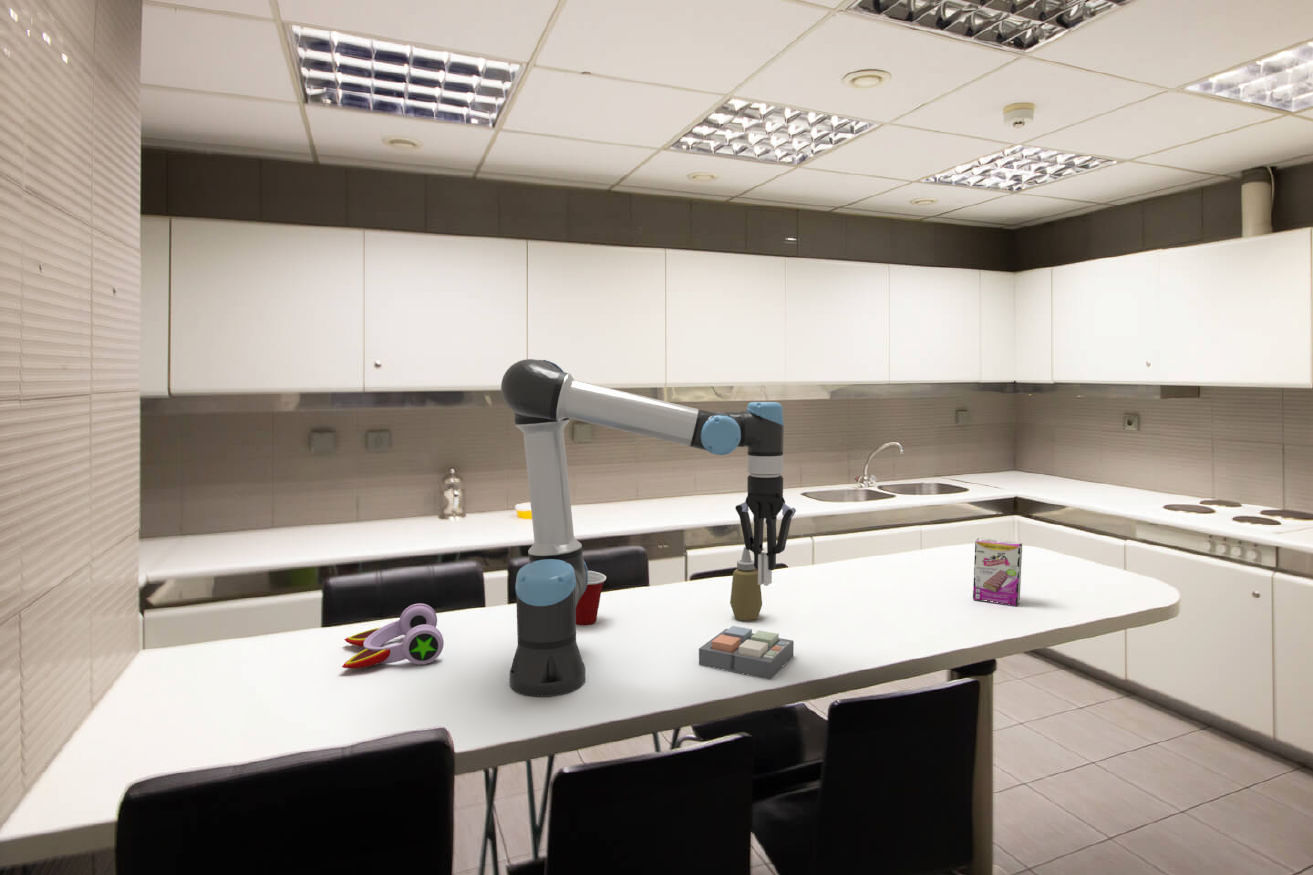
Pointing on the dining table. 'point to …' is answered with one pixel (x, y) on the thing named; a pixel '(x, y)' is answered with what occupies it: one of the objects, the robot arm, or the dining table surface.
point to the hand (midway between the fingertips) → (764, 583)
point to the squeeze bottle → (746, 590)
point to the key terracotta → (726, 643)
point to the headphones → (416, 646)
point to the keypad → (748, 659)
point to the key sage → (766, 638)
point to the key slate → (739, 633)
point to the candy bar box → (997, 571)
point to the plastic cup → (590, 599)
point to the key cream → (753, 648)
